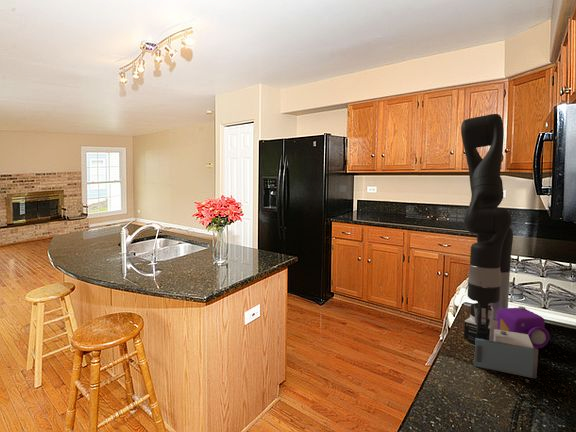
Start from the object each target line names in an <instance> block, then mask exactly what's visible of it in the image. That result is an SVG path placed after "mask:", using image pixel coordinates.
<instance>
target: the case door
mask: <svg viewBox="0 0 576 432" xmlns="http://www.w3.org/2000/svg"><path fill="white" fill-rule="evenodd" d="M538 356H539V349H537V348H534V347H533V348H530V347H524V346H518V345H513V344H507V343H501V342H496V341H490V340H484V339H478V338H475V346H474V360H473V361H474V362H473V366H474V367H478V368H482V369H487V370H492V371H497V372H502V373H507V374H512V375H517V376H520V377H521V376H522V377H525V378H531V379H537V378H538V377H537V375H538V374H537V373H538V372H537V371H538V361H539V359H538V358H539V357H538Z"/></svg>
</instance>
